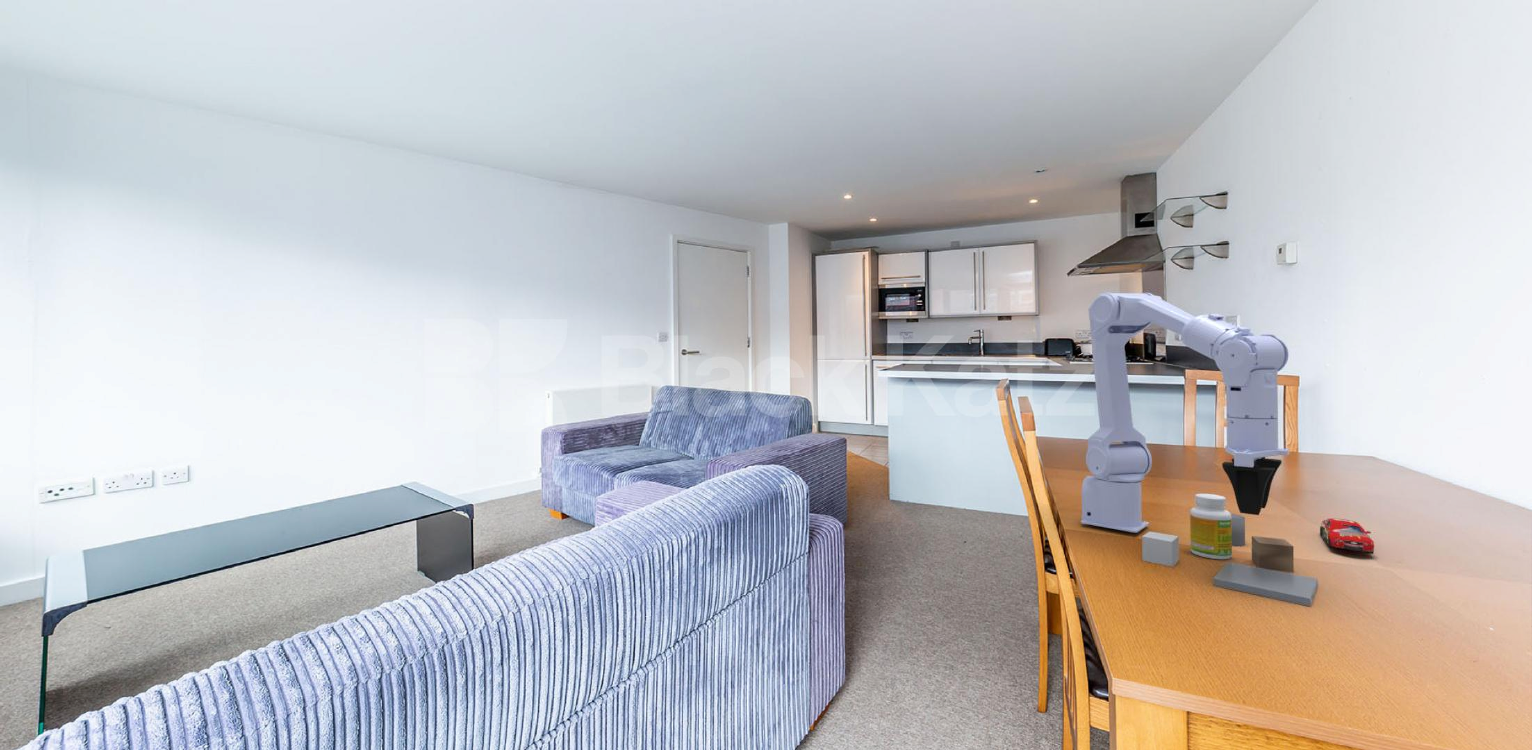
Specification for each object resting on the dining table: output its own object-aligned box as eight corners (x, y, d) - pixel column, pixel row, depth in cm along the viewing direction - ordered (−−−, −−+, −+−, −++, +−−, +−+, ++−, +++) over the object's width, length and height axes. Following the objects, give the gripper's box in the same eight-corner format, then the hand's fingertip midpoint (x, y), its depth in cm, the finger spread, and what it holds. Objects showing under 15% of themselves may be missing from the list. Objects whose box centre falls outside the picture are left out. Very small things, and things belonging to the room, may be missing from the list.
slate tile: (1213, 585, 81) (1213, 578, 81) (1227, 567, 88) (1227, 561, 88) (1310, 606, 74) (1310, 598, 74) (1317, 585, 80) (1317, 578, 80)
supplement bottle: (1222, 562, 90) (1222, 501, 90) (1184, 553, 95) (1183, 495, 95) (1238, 556, 93) (1237, 497, 93) (1199, 547, 98) (1199, 491, 98)
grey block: (1142, 560, 92) (1142, 536, 92) (1149, 555, 94) (1149, 531, 94) (1172, 567, 89) (1171, 541, 89) (1178, 561, 91) (1178, 536, 91)
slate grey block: (1213, 544, 99) (1213, 515, 99) (1218, 539, 102) (1217, 511, 102) (1242, 549, 96) (1242, 520, 96) (1247, 544, 99) (1246, 515, 99)
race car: (1377, 558, 89) (1377, 532, 89) (1329, 551, 93) (1329, 526, 93) (1361, 540, 99) (1361, 517, 99) (1318, 534, 103) (1318, 512, 103)
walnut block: (1259, 568, 87) (1259, 542, 87) (1251, 560, 91) (1251, 535, 91) (1293, 572, 86) (1293, 546, 86) (1284, 564, 89) (1284, 539, 89)
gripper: (1281, 422, 75) (1283, 524, 75) (1294, 415, 85) (1295, 506, 85) (1214, 419, 81) (1216, 515, 81) (1234, 413, 90) (1235, 498, 90)
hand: (1252, 510), depth 83 cm, fingers open, 5 cm apart
